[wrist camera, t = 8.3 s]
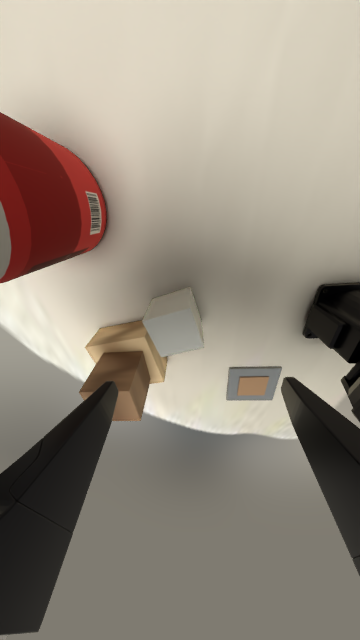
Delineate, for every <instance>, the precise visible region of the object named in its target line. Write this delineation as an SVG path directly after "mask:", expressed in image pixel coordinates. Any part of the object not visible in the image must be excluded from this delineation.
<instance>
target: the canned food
mask: <svg viewBox="0 0 360 640" xmlns="http://www.w3.org/2000/svg"><path fill="white" fill-rule="evenodd" d="M106 221H107V220H106V207H105V201H104V198H103V195H102V193H101V190H100V188H99V186H98V184H97V182H96V180H95V179H94V177H93V176H92V174H91V173H90V171H89V170H88V169H87V167H86V166H85V165H84V164H83V163H82V162H81V161H80V159H79V158H78V157H77V156H75V155H74V154H73V153H72V152H70V151H69V150H68V149H67V148H65V147H63V146H61V145H59V144H57V143H56V142H54V141H52V140H50V139H48V138H46V137H45V136H43V135H41V134H39V133H37V132H35V131H34V130H32V129H30V128H28V127H26V126H24V125H23V124H21V123H19V122H17V121H15V120H13V119H12V118H10V117H8V116H6V115H4V114H2V113H1V112H0V283H4V282H7V281H10V280H12V279H15V278H18V277H21V276H23V275H26V274H29V273H31V272H34V271H37V270H40V269H42V268H45V267H48V266H50V265H53V264H56V263H58V262H61V261H64V260H67V259H69V258H72V257H75V256H77V255H80V254H83V253H85V252H87V251H90V250H92V249H93V248H94V247H95V246H96V245H97V244H98V242H99V241H100V240H101V238H102V236H103V233H104V231H105V227H106Z"/></svg>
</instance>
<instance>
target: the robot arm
mask: <svg viewBox="0 0 360 640" xmlns="http://www.w3.org/2000/svg"><path fill="white" fill-rule="evenodd" d="M324 289H326V290H325V291H323V290H324ZM303 335H304V337H305V338H319V339H320V340H321V341H322V342H324V343H325V344H326V345H327V346H328V347H329V348H330V349H334V350H335V351H336V352H337V353H338V354H339V355H340V356H341V357H343V358H344V359H345V360H346V361H347V362H348V363H356V364H355V366H354V367H353V368H352V369H351V370H350V372H349V373H348V374H347V375H346V376H344V377H343V378H342V379H341V382H342V384H343V386H344V388H345V391H346V393H347V395H348V397H349V399H350V402H351V404H352V406H353V409H352V412H353V414H354V416H355V417H356V418H357V419H358V421H359V422H360V283H347V284H329V285H322V286H321V287H319V289H318V291H317V294H316V297H315V300H314V303H313V306H312V308H311V311H310V314H309V316H308V319H307V322H306V326H305V329H304V332H303ZM281 392H282V395H283V398H284V401H285V404H286V407H287V410H288V413H289V416H290V419H291V422H292V425H293V427H294V430H295V432H296V434H297V436H298V439H299V441H300V443H301V445H302V447H303V450H304V452H305V454H306V456H307V459H308V461H309V463H310V465H311V468H312V470H313V472H314V474H315V477H316V479H317V481H318V483H319V486H320V488H321V490H322V492H323V494H324V497H325V499H326V501H327V503H328V505H329V508H330V510H331V512H332V515H333V517H334V519H335V521H336V524H337V526H338V528H339V530H340V533H341V535H342V537H343V539H344V541H345V544H346V546H347V548H348V550H349V553H350V555H351V557H352V558H353V562H354V564H355V567H356V569H357V571H358V573H359V575H360V429H359V428H358V427H357V426H356V425H354V424H353V423H352V422H350V421H349V420H348V419H347V418H345V417H344V416H343V415H341V414H340V413H339V412H338V411H336V410H335V409H334V408H333V407H331V406H330V405H329V404H327V403H326V402H325V401H324V400H322V399H321V398H320V397H319V396H317V395H316V394H315V393H313V392H312V391H311V390H310V389H308V388H307V387H306V386H304V385H303V384H302V383H301V382H299V381H298V380H297V379H295V378H294V377H285V378H284V379H283V383H282V387H281ZM117 398H118V388H117V386H116V384H115V382H114V381H106V382H105V383H103V384H102V385H101V386H100V387H99V388H98V389H97V390H96V391H94V392H93V393H92V394H91V395H90V396H89V397H88V398H87V399H86V400H84V401H83V402H82V403H81V404H80V405H79V406H78V407H77V408H76V409H74V410H73V411H72V412H71V413H70V414H69V415H68V416H67V417H66V418H64V419H63V420H62V421H61V422H60V423H59V424H58V425H57V426H55V427H54V428H53V429H52V430H51V431H50V432H49V433H48V434H46V435H45V436H44V438H42V439H41V440H40V441H39V442H37V443H36V444H35V445H34V446H33V447H32V448H31V449H30V450H28V452H26V453H25V454H24V455H23V456H22V457H20V458H19V459H18V460H17V461H16V462H14V463H13V464H12V465H11V466H9V467H8V468H7V469H6V470H5V471H3V472H2V473H1V474H0V640H6V638H7V635H10V634H22V633H33V632H38V631H39V629H40V626H41V623H42V621H43V618H44V615H45V612H46V609H47V607H48V604H49V601H50V598H51V595H52V592H53V589H54V587H55V583H56V580H57V578H58V575H59V572H60V569H61V566H62V564H63V561H64V558H65V555H66V552H67V549H68V546H69V543H70V540H71V538H72V535H73V531H74V529H75V526H76V523H77V520H78V517H79V514H80V511H81V508H82V506H83V503H84V500H85V497H86V494H87V491H88V488H89V486H90V482H91V480H92V477H93V474H94V471H95V468H96V465H97V462H98V460H99V457H100V454H101V451H102V448H103V445H104V442H105V440H106V437H107V434H108V431H109V428H110V425H111V422H112V418H113V414H114V410H115V406H116V402H117Z"/></svg>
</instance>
